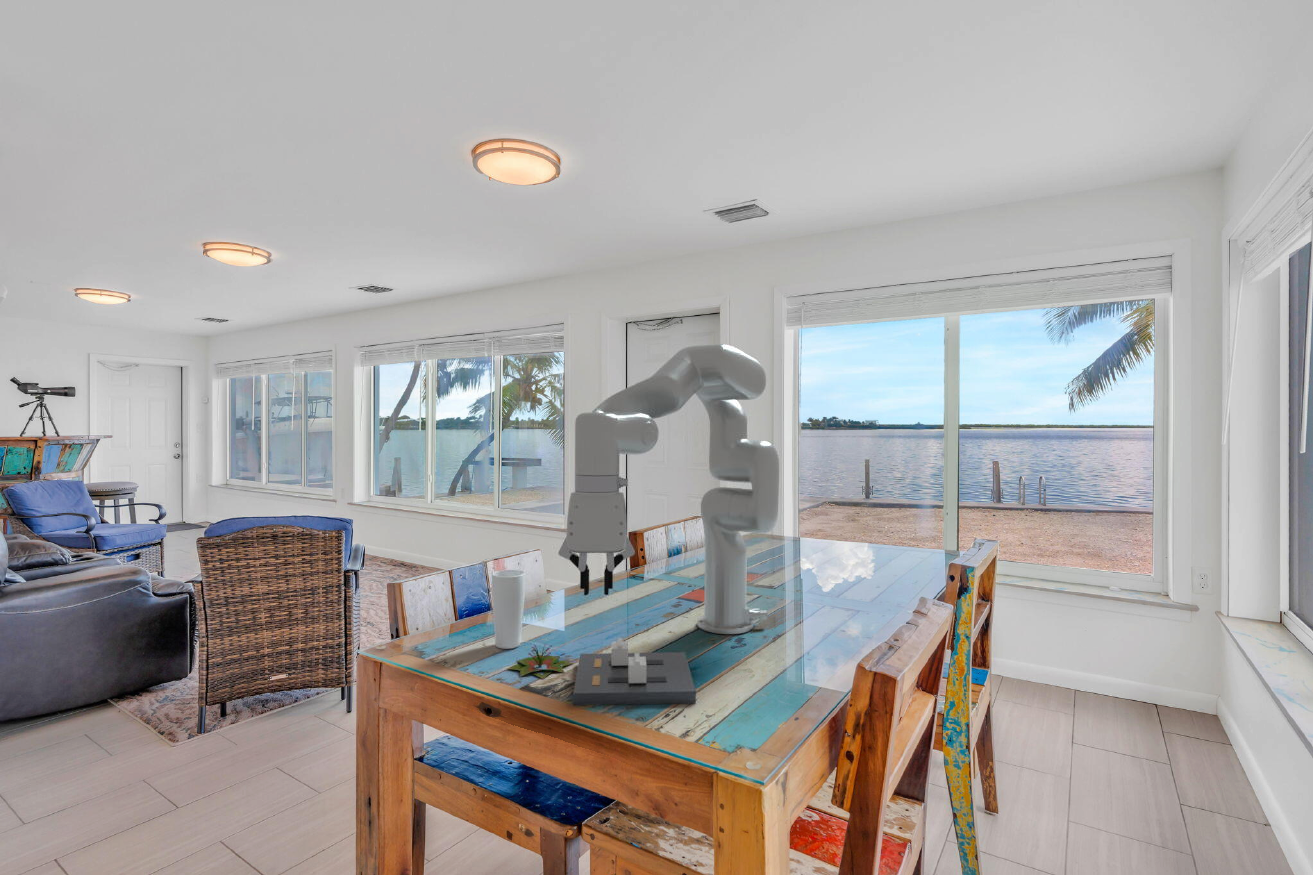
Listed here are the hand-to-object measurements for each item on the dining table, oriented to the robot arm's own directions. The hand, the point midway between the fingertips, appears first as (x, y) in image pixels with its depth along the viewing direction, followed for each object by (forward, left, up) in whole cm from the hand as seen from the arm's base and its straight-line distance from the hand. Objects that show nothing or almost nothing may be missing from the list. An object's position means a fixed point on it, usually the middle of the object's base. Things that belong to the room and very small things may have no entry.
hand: (596, 592), depth 108 cm
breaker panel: (-7, -4, -17) cm, 19 cm away
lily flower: (+11, -12, -18) cm, 24 cm away
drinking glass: (+19, -24, -17) cm, 35 cm away
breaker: (-4, -8, -15) cm, 17 cm away
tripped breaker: (-7, 0, -15) cm, 16 cm away
